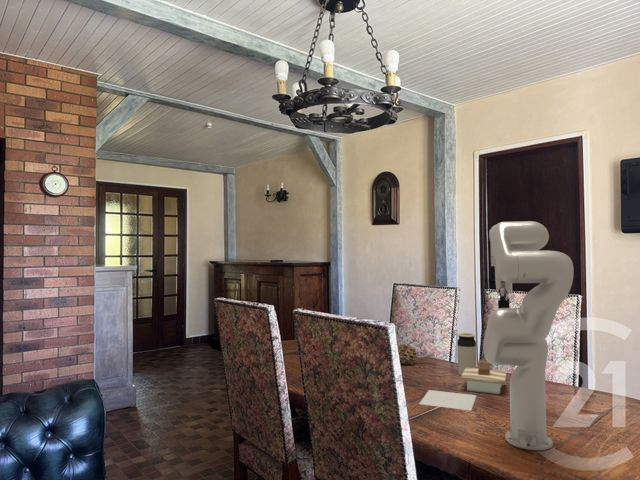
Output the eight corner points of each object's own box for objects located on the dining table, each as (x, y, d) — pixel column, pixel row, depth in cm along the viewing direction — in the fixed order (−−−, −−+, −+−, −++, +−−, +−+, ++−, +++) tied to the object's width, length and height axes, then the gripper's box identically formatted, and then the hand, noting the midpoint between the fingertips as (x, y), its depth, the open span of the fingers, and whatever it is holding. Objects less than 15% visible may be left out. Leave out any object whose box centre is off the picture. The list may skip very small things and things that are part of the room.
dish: (499, 395, 176) (499, 382, 176) (467, 391, 181) (466, 379, 181) (501, 386, 187) (501, 374, 187) (470, 383, 191) (470, 371, 192)
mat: (471, 412, 158) (471, 410, 158) (419, 405, 165) (419, 404, 165) (476, 396, 174) (476, 395, 174) (428, 391, 182) (428, 389, 182)
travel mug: (479, 377, 201) (478, 335, 202) (460, 377, 202) (460, 336, 202) (473, 372, 209) (472, 332, 210) (455, 372, 209) (455, 332, 210)
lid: (504, 384, 173) (504, 367, 173) (460, 380, 180) (460, 364, 180) (506, 373, 188) (506, 358, 188) (465, 370, 194) (465, 355, 194)
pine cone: (391, 366, 221) (391, 346, 221) (388, 362, 231) (388, 342, 231) (437, 366, 221) (437, 345, 221) (432, 361, 230) (432, 341, 231)
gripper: (513, 261, 151) (515, 314, 150) (514, 261, 166) (516, 309, 165) (489, 261, 154) (490, 313, 153) (492, 262, 169) (494, 308, 168)
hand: (504, 311), depth 159 cm, fingers open, 9 cm apart
